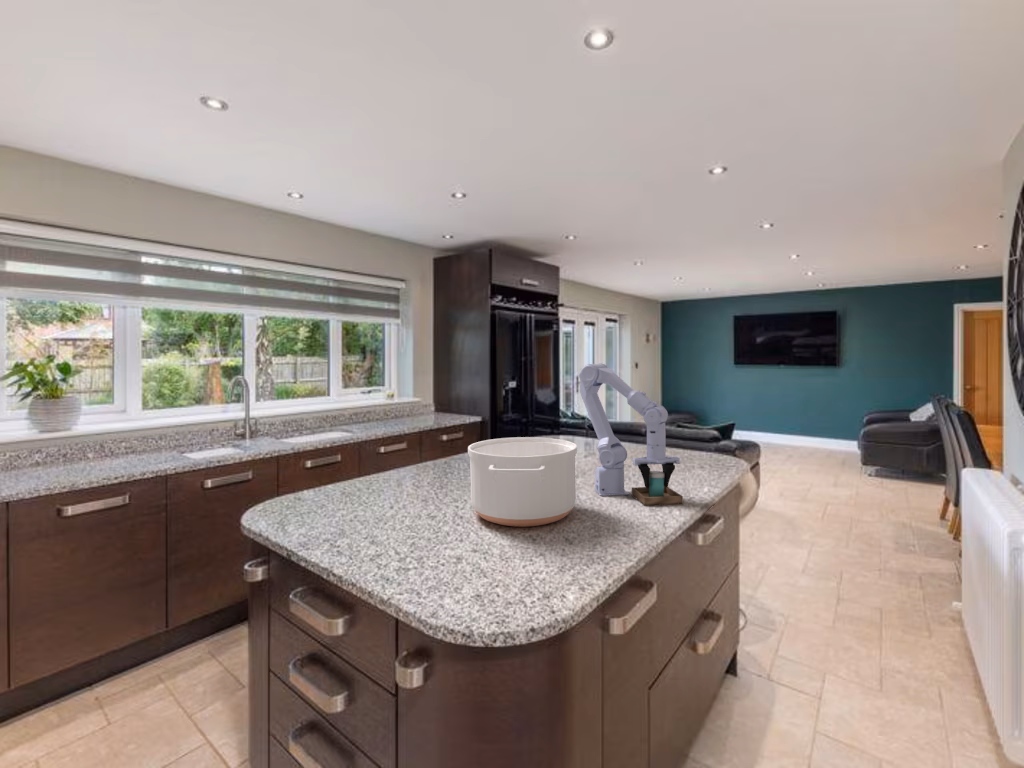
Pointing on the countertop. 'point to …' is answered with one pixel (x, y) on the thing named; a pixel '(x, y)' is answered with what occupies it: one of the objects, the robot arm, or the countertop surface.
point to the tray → (668, 499)
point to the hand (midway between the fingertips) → (656, 486)
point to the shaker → (656, 484)
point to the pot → (522, 480)
